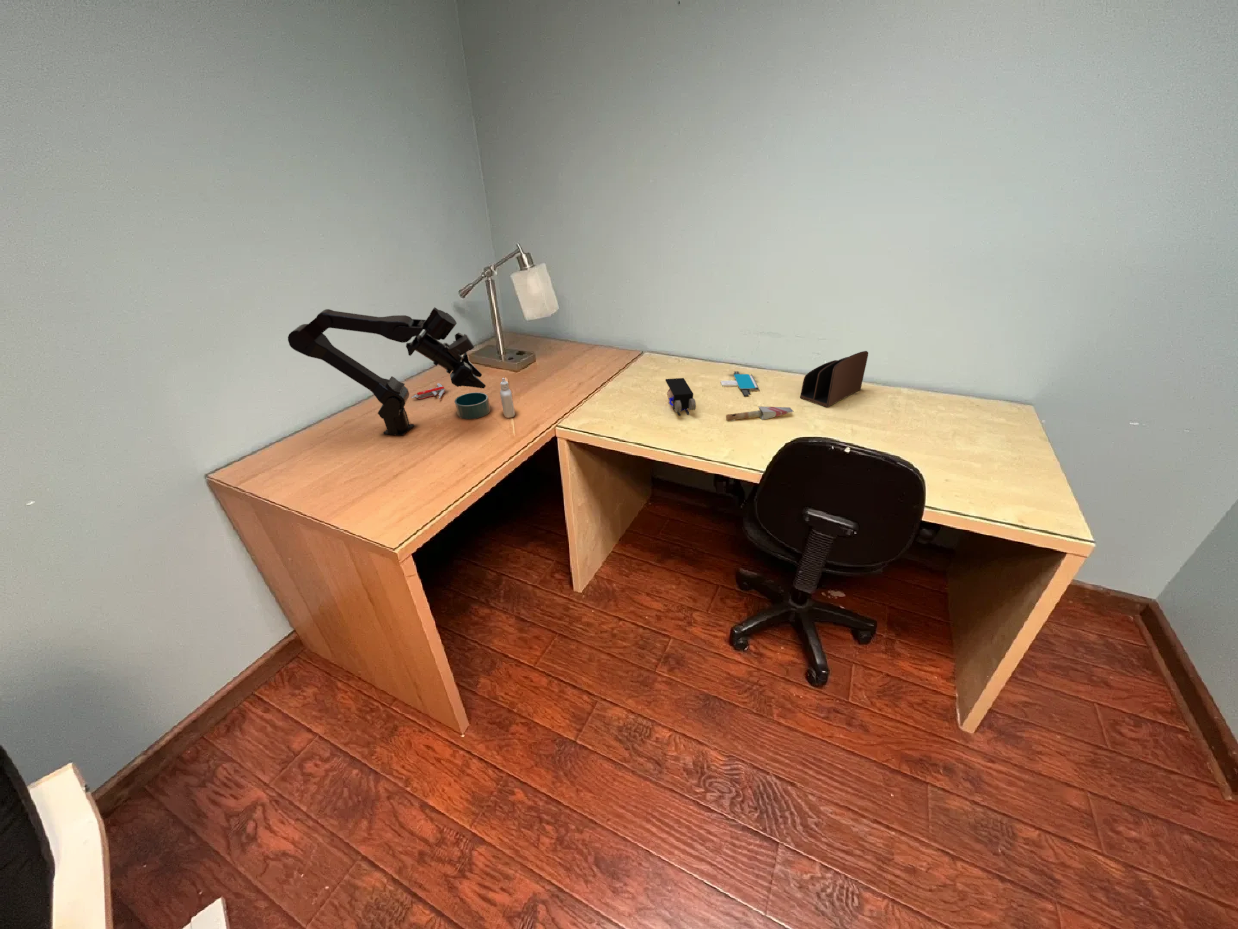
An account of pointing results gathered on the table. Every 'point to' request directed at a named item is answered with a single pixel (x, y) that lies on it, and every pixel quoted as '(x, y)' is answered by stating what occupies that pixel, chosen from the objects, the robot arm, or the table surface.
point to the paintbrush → (761, 413)
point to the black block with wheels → (680, 395)
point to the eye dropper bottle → (506, 399)
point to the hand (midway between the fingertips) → (483, 381)
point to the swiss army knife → (431, 392)
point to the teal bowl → (472, 405)
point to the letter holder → (834, 380)
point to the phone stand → (742, 383)
